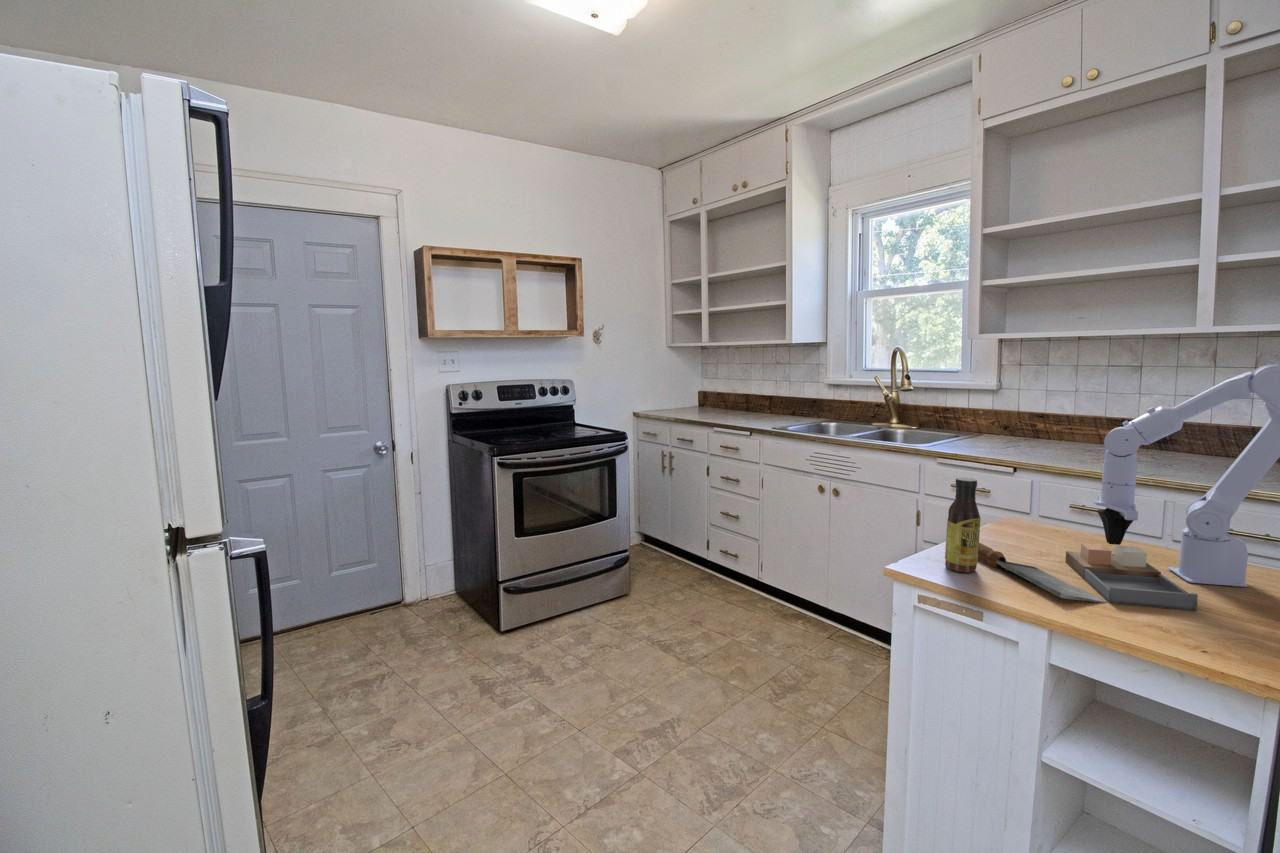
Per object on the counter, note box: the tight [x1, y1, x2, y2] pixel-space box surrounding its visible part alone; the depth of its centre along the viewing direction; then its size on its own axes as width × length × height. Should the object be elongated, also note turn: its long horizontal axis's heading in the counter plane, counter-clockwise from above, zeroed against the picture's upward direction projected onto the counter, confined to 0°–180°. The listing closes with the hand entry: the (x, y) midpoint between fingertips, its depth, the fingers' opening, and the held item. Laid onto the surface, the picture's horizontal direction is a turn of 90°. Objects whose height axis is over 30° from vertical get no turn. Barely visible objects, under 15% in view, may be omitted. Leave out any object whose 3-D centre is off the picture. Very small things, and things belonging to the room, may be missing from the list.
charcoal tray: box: [1083, 569, 1199, 612], centre depth 115 cm, size 13×12×3 cm
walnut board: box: [1064, 550, 1162, 580], centre depth 126 cm, size 13×10×2 cm
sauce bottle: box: [944, 477, 982, 574], centre depth 129 cm, size 7×6×20 cm
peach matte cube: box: [1080, 543, 1113, 565], centre depth 126 cm, size 4×4×3 cm
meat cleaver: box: [978, 542, 1109, 604], centre depth 128 cm, size 34×11×4 cm, turn 5°
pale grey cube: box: [1113, 545, 1148, 567], centre depth 124 cm, size 4×4×3 cm
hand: (1113, 543), depth 131 cm, fingers closed
